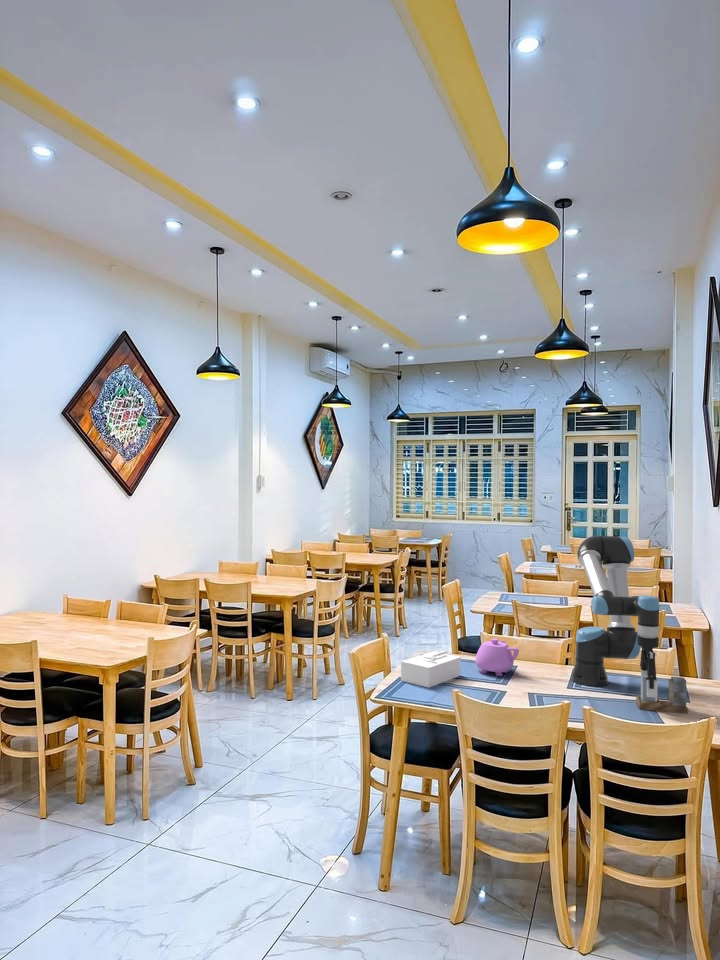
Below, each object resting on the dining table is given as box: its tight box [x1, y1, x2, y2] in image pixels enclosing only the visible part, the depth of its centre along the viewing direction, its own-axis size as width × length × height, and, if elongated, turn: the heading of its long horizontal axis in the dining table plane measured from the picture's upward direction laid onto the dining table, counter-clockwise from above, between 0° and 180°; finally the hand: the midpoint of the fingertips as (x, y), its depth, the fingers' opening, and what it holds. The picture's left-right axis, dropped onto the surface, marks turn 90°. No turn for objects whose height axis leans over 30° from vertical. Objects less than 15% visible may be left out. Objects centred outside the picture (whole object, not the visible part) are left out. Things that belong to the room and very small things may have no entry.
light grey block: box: [640, 673, 658, 702], centre depth 252 cm, size 5×4×10 cm
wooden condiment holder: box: [635, 676, 689, 714], centre depth 251 cm, size 17×7×12 cm, turn 76°
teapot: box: [475, 638, 520, 677], centre depth 299 cm, size 20×20×15 cm
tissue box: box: [400, 650, 462, 689], centre depth 286 cm, size 14×25×11 cm, turn 139°
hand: (647, 692), depth 252 cm, fingers open, 12 cm apart
